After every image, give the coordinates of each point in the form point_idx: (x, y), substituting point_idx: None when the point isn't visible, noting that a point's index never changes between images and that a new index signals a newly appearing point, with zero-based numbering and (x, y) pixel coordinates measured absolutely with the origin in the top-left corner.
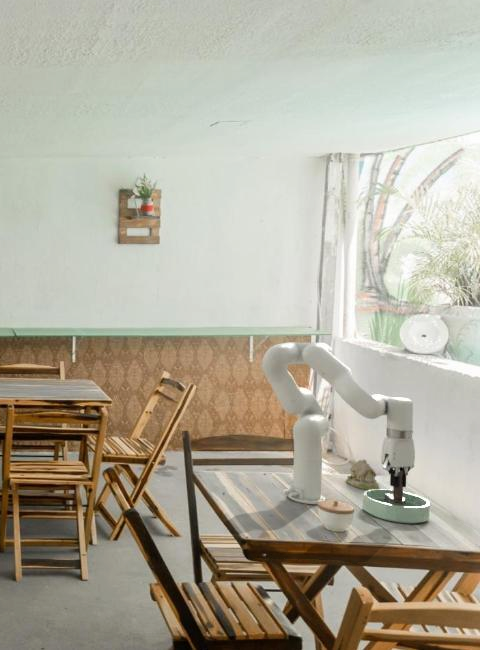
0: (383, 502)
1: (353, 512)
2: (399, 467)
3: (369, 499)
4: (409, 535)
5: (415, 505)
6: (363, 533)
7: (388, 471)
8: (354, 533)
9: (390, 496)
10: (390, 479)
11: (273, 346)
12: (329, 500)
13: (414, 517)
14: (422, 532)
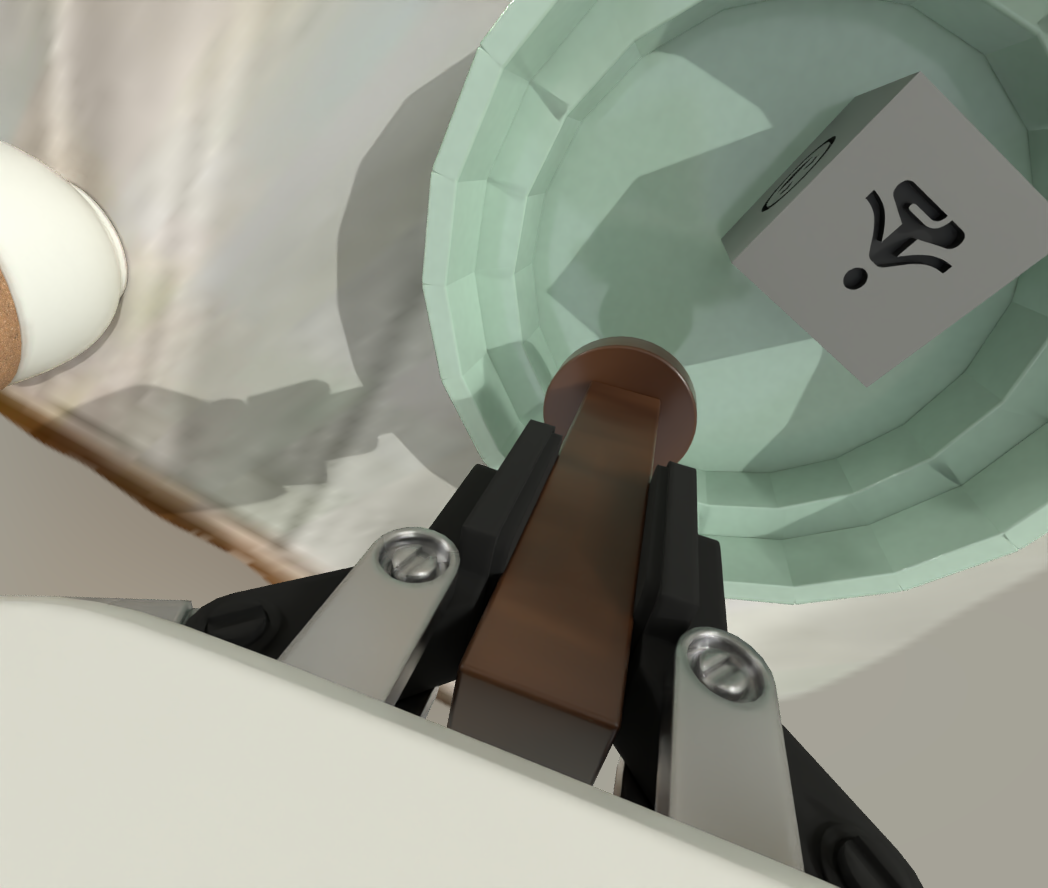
0: (958, 22)
1: (11, 381)
2: (657, 805)
3: (437, 169)
4: (411, 525)
5: (999, 389)
6: (192, 381)
7: (274, 599)
8: (144, 355)
9: (803, 227)
10: (502, 464)
11: None
12: None
13: None
14: None
